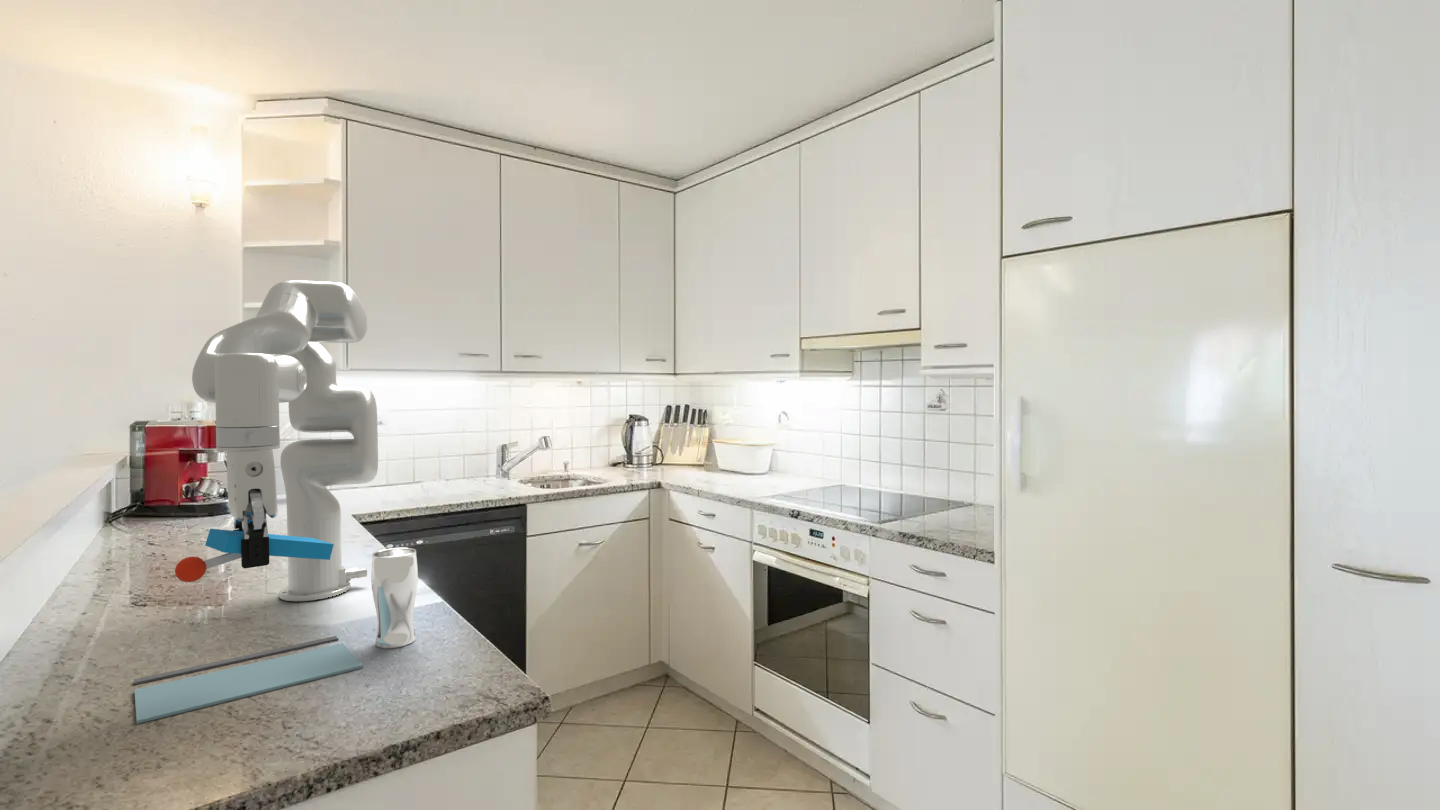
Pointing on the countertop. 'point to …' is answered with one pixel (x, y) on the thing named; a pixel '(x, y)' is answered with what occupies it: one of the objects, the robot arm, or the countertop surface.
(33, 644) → the countertop surface
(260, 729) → the countertop surface
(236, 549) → the lever
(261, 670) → the mat
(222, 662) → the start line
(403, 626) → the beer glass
